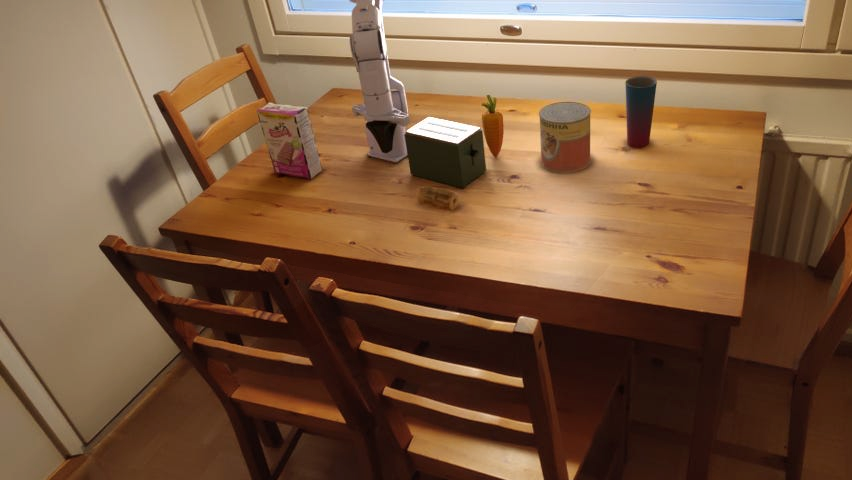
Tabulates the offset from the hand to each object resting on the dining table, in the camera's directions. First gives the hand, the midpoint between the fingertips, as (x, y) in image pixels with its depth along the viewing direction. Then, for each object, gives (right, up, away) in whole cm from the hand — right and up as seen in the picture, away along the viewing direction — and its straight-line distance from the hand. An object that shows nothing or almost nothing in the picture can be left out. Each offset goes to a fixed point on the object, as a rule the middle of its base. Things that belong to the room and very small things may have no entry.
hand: (387, 151), depth 148 cm
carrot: (+24, +1, +14) cm, 28 cm away
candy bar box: (-23, -2, +17) cm, 29 cm away
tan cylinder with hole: (+11, -12, -2) cm, 17 cm away
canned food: (+40, -1, +9) cm, 41 cm away
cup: (+57, +4, +13) cm, 59 cm away
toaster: (+13, -4, +9) cm, 16 cm away
